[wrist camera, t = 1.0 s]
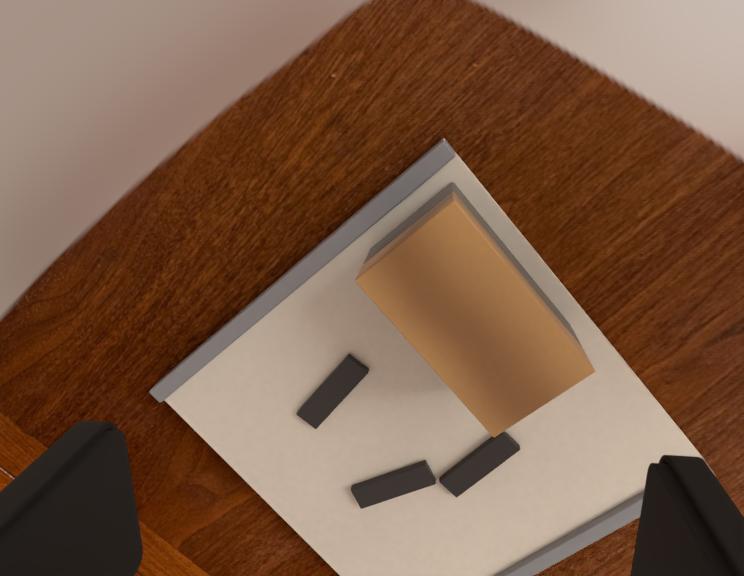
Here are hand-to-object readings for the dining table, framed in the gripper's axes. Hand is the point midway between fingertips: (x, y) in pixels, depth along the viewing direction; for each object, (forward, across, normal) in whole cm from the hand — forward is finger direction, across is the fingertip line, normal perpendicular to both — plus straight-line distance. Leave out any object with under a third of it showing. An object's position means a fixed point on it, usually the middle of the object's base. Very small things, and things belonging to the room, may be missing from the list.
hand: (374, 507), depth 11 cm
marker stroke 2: (+16, +1, +11) cm, 19 cm away
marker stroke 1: (+16, +4, +6) cm, 17 cm away
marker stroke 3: (+16, -3, +10) cm, 19 cm away
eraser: (+16, -2, +1) cm, 16 cm away
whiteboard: (+17, 0, +8) cm, 18 cm away
